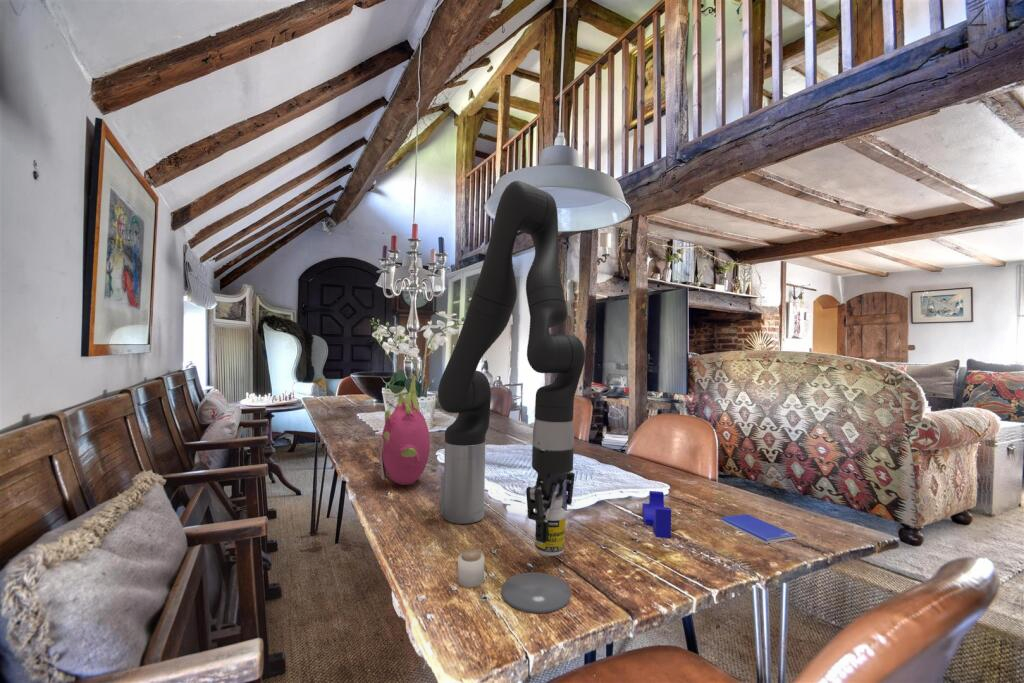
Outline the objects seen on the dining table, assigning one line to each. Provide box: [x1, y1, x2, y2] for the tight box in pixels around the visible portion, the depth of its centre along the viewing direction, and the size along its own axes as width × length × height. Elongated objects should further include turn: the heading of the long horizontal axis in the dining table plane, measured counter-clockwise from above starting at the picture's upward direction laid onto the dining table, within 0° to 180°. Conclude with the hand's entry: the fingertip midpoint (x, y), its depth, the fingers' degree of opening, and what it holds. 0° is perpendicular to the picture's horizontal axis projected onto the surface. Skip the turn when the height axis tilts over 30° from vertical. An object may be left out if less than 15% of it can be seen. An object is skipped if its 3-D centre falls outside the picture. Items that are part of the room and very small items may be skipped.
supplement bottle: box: [534, 496, 567, 557], centre depth 86 cm, size 5×5×10 cm
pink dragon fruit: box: [379, 375, 431, 486], centre depth 129 cm, size 18×14×30 cm
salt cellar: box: [457, 547, 485, 589], centre depth 79 cm, size 4×4×5 cm
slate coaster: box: [501, 571, 572, 614], centre depth 75 cm, size 11×11×1 cm
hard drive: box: [720, 513, 797, 545], centre depth 102 cm, size 2×8×12 cm
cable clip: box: [641, 490, 672, 539], centre depth 103 cm, size 12×4×6 cm, turn 170°
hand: (550, 535), depth 86 cm, fingers closed on supplement bottle, 5 cm apart
